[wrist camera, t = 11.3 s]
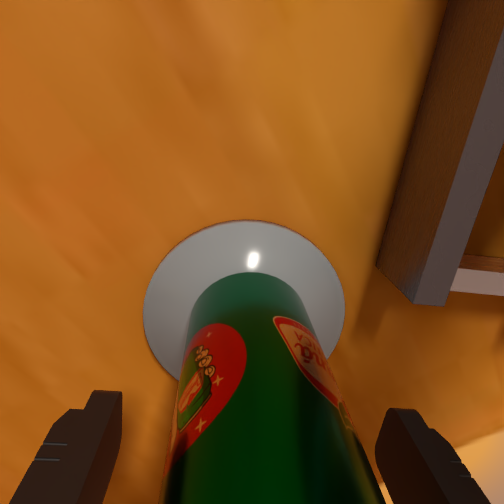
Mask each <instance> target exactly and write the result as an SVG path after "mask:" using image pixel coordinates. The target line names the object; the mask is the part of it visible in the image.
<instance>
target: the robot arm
mask: <svg viewBox="0 0 504 504" xmlns="http://www.w3.org/2000/svg"><path fill="white" fill-rule="evenodd" d="M121 435H122V392H121V391H104V390H94V391H93V392H92V394H91V396H90V398H89V400H88V402H87V404H86V406H85V408H84V410H82V409H69V410H68V411H67V412H66V413H65V414H64V415H63V416H62V417H60V418H59V419H58V420H57V421H56V422H55V423H54V424H53V425H52V427H51V429H50V431H49V433H48V434H47V436H46V438H45V440H44V442H43V445H41V447H40V449H39V451H38V452H37V454H36V456H35V459H34V461H32V463H31V465H30V467H29V468H28V470H27V472H26V474H25V476H24V477H23V479H22V481H21V483H20V485H19V486H18V488H17V490H16V492H15V494H14V495H13V497H12V499H11V501H10V503H9V504H102V503H103V500H104V497H105V494H106V490H107V487H108V484H109V481H110V478H111V475H112V472H113V468H114V465H115V462H116V459H117V456H118V452H119V448H120V442H121ZM375 458H376V463H377V466H378V469H379V471H380V474H381V476H382V478H383V481H384V483H385V485H386V488H387V490H388V492H389V495H390V497H391V499H392V501H393V503H394V504H491V503H490V502H489V500H488V499H487V497H486V496H485V495H484V493H483V491H482V490H481V488H480V487H479V486H478V484H477V483H476V481H475V480H474V479H473V478H471V474H470V472H469V471H468V469H467V468H466V466H465V465H464V464H462V463H461V459H460V458H459V456H458V455H457V453H456V452H455V450H454V449H453V447H452V446H451V444H450V443H449V442H448V441H447V440H445V439H444V438H443V437H442V436H441V435H440V434H439V433H438V432H437V431H436V430H435V429H431V428H428V426H427V425H426V423H425V422H424V420H423V419H422V417H421V415H420V414H419V413H418V412H417V411H416V410H414V409H400V408H389V409H388V410H387V412H386V415H385V418H384V421H383V424H382V427H381V430H380V433H379V436H378V439H377V442H376V445H375Z"/></svg>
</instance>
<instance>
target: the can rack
mask: <svg viewBox="0 0 504 504" xmlns="http://www.w3.org/2000/svg"><path fill="white" fill-rule="evenodd" d="M503 143H504V0H449V1H448V5H447V8H446V12H445V16H444V19H443V23H442V27H441V30H440V34H439V37H438V41H437V45H436V48H435V52H434V56H433V59H432V63H431V66H430V70H429V74H428V77H427V81H426V85H425V88H424V92H423V95H422V99H421V103H420V106H419V110H418V114H417V117H416V121H415V124H414V128H413V132H412V135H411V139H410V143H409V146H408V150H407V154H406V157H405V161H404V164H403V168H402V172H401V175H400V179H399V183H398V186H397V190H396V193H395V197H394V201H393V204H392V208H391V212H390V215H389V219H388V222H387V226H386V230H385V233H384V237H383V241H382V244H381V248H380V251H379V255H378V259H377V262H376V267H377V268H378V269H379V270H380V271H381V272H382V273H383V274H384V275H385V276H386V277H387V278H388V279H389V280H390V281H391V282H392V283H393V284H394V285H395V286H396V287H397V288H398V289H399V290H400V291H401V292H402V293H403V294H404V295H405V296H406V297H407V298H408V299H409V300H410V301H411V302H412V303H413V304H421V305H432V306H443V307H444V305H445V303H446V300H447V297H448V294H449V292H450V291H458V292H468V293H478V294H488V295H499V296H504V259H503V258H494V257H485V256H476V255H467V254H463V253H464V250H465V247H466V245H467V242H468V239H469V236H470V234H471V231H472V228H473V225H474V223H475V220H476V217H477V214H478V212H479V209H480V206H481V203H482V200H483V198H484V195H485V192H486V189H487V187H488V184H489V181H490V178H491V176H492V173H493V170H494V167H495V165H496V162H497V159H498V156H499V154H500V151H501V148H502V145H503Z"/></svg>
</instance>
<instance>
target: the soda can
mask: <svg viewBox="0 0 504 504" xmlns="http://www.w3.org/2000/svg"><path fill="white" fill-rule="evenodd" d="M158 504H386V502H385V500H384V497H383V495H382V492H381V490H380V488H379V485H378V483H377V480H376V478H375V475H374V473H373V471H372V468H371V466H370V463H369V461H368V459H367V456H366V454H365V451H364V449H363V447H362V444H361V442H360V439H359V437H358V434H357V432H356V430H355V427H354V425H353V422H352V420H351V418H350V415H349V413H348V410H347V408H346V406H345V403H344V401H343V398H342V396H341V393H340V391H339V389H338V386H337V384H336V381H335V379H334V377H333V374H332V372H331V369H330V367H329V365H328V362H327V360H326V357H325V355H324V352H323V350H322V348H321V345H320V343H319V340H318V338H317V336H316V333H315V331H314V328H313V326H312V324H311V321H310V319H309V316H308V314H307V311H306V309H305V307H304V304H303V302H302V300H301V298H300V297H299V295H298V294H297V292H296V291H295V290H294V289H293V288H292V287H291V286H290V285H288V284H287V283H286V282H284V281H282V280H281V279H279V278H277V277H274V276H271V275H269V274H264V273H259V272H243V273H237V274H232V275H229V276H226V277H224V278H221V279H219V280H218V281H216V282H214V283H213V284H211V285H210V286H209V287H208V288H207V289H205V290H204V292H203V293H202V294H201V295H200V296H199V297H198V299H197V301H196V302H195V304H194V306H193V309H192V311H191V315H190V320H189V326H188V332H187V338H186V344H185V350H184V355H183V361H182V367H181V373H180V379H179V385H178V391H177V396H176V402H175V408H174V414H173V420H172V426H171V431H170V437H169V443H168V449H167V455H166V461H165V467H164V472H163V478H162V484H161V490H160V496H159V502H158Z"/></svg>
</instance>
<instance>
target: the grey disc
mask: <svg viewBox="0 0 504 504" xmlns="http://www.w3.org/2000/svg"><path fill="white" fill-rule="evenodd" d="M243 272H259V273H264V274H269V275H271V276H274V277H277V278H279V279H281V280H282V281H284V282H286V283H287V284H288V285H290V286H291V287H292V288H293V289H294V290H295V291H296V292H297V294H298V295H299V297H300V298H301V300H302V302H303V304H304V307H305V309H306V311H307V314H308V316H309V319H310V321H311V324H312V326H313V328H314V331H315V333H316V336H317V338H318V340H319V343H320V345H321V348H322V350H323V352H324V355H325V357H326V360H327V359H328V357H329V356H330V354H331V353H332V351H333V350H334V348H335V346H336V344H337V342H338V340H339V337H340V334H341V331H342V328H343V323H344V317H345V302H344V294H343V290H342V286H341V283H340V281H339V278H338V276H337V274H336V272H335V270H334V269H333V267H332V265H331V264H330V262H329V261H328V259H327V258H326V257H325V255H324V254H323V253H322V252H321V251H320V250H319V249H318V247H316V246H315V245H314V244H313V243H312V242H311V241H310V240H308V239H307V238H305V237H304V236H302V235H301V234H299V233H298V232H296V231H294V230H291V229H289V228H287V227H285V226H282V225H278V224H275V223H272V222H266V221H261V220H246V219H245V220H232V221H226V222H221V223H217V224H214V225H211V226H208V227H205V228H203V229H201V230H199V231H197V232H195V233H193V234H191V235H189V236H188V237H186V238H185V239H183V240H182V241H180V242H179V243H178V244H177V245H176V246H175V247H174V248H173V249H171V250H170V251H169V253H168V254H167V255H166V256H165V257H164V258H163V260H162V261H161V263H160V264H159V266H158V267H157V269H156V270H155V273H154V275H153V277H152V279H151V282H150V284H149V286H148V288H147V292H146V296H145V299H144V307H143V324H144V329H145V334H146V337H147V340H148V343H149V346H150V348H151V350H152V351H153V353H154V355H155V357H156V358H157V360H158V361H159V362H160V364H161V365H162V366H163V367H164V368H165V369H166V370H167V371H168V372H169V373H170V374H171V375H172V376H173V377H174V378H176V379H177V380H178V381H179V379H180V373H181V367H182V361H183V355H184V350H185V344H186V338H187V332H188V326H189V320H190V315H191V311H192V309H193V306H194V304H195V302H196V301H197V299H198V297H199V296H200V295H201V294H202V293H203V292H204V290H205V289H207V288H208V287H209V286H210V285H211V284H213V283H214V282H216V281H218V280H219V279H221V278H224V277H226V276H229V275H232V274H237V273H243Z"/></svg>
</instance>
